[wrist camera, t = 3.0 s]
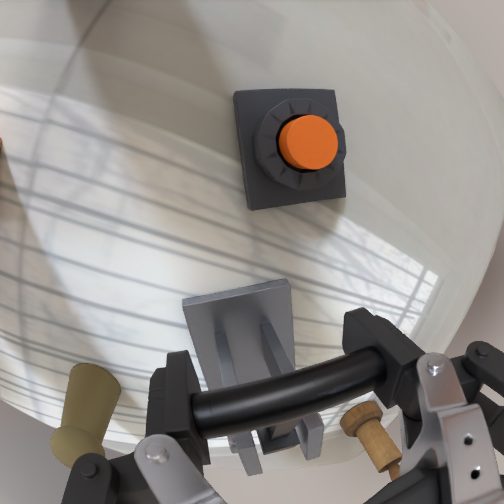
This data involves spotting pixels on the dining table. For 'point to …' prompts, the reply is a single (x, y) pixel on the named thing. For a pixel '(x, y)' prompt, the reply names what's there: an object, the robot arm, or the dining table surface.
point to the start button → (308, 142)
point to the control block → (268, 152)
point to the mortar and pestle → (373, 436)
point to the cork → (85, 413)
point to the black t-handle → (287, 399)
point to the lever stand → (248, 351)
